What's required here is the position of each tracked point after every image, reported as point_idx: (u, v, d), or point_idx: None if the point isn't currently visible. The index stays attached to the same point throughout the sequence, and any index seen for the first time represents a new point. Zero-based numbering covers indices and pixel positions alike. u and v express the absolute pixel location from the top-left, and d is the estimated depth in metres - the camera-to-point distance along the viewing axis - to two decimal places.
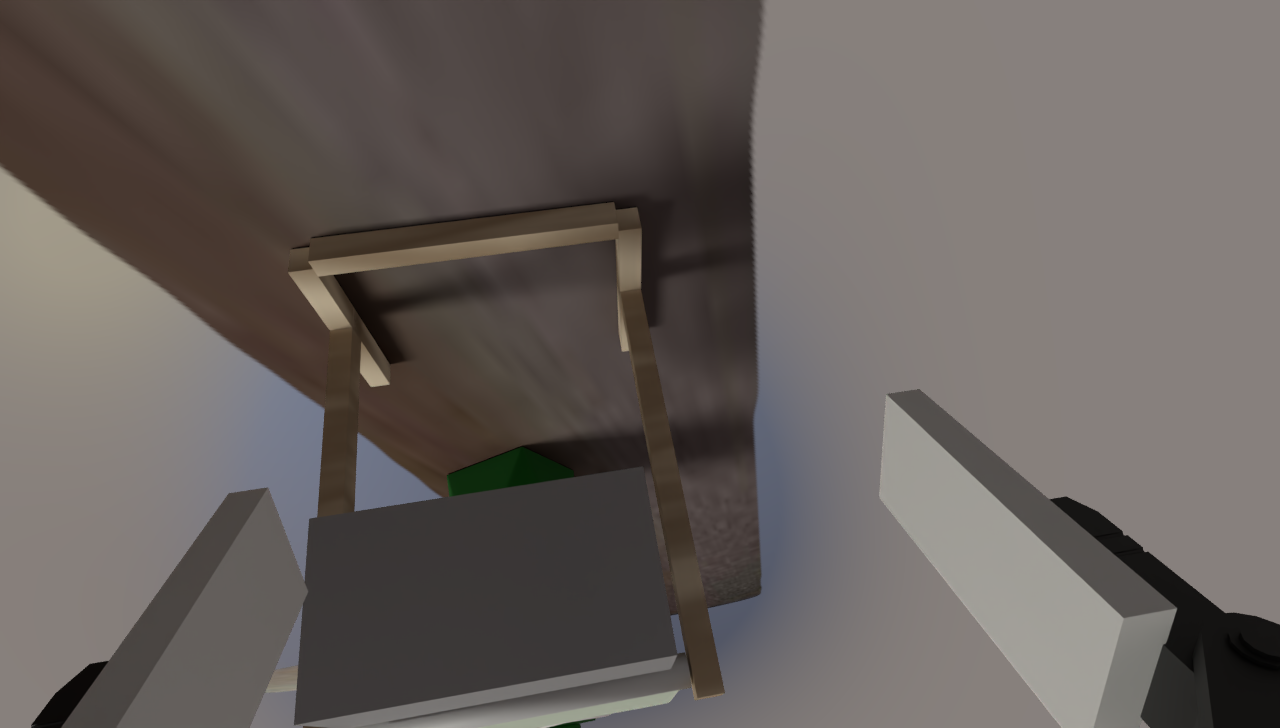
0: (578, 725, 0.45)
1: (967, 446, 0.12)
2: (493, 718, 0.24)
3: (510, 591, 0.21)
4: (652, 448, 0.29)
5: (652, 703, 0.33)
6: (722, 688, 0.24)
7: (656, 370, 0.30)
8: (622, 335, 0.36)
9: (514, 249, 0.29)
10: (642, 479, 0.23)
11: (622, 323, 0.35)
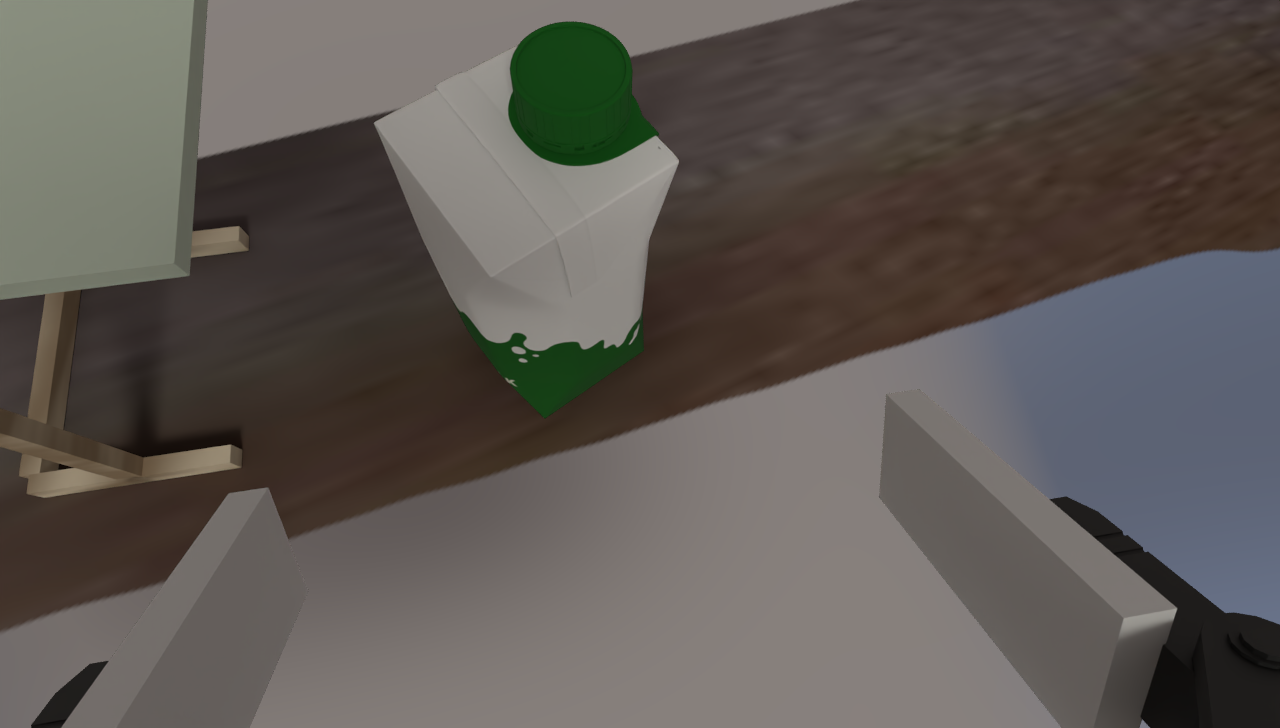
0: None
1: (967, 446, 0.12)
2: None
3: None
4: None
5: (127, 2, 0.24)
6: None
7: None
8: (210, 243, 0.40)
9: (56, 331, 0.38)
10: None
11: None
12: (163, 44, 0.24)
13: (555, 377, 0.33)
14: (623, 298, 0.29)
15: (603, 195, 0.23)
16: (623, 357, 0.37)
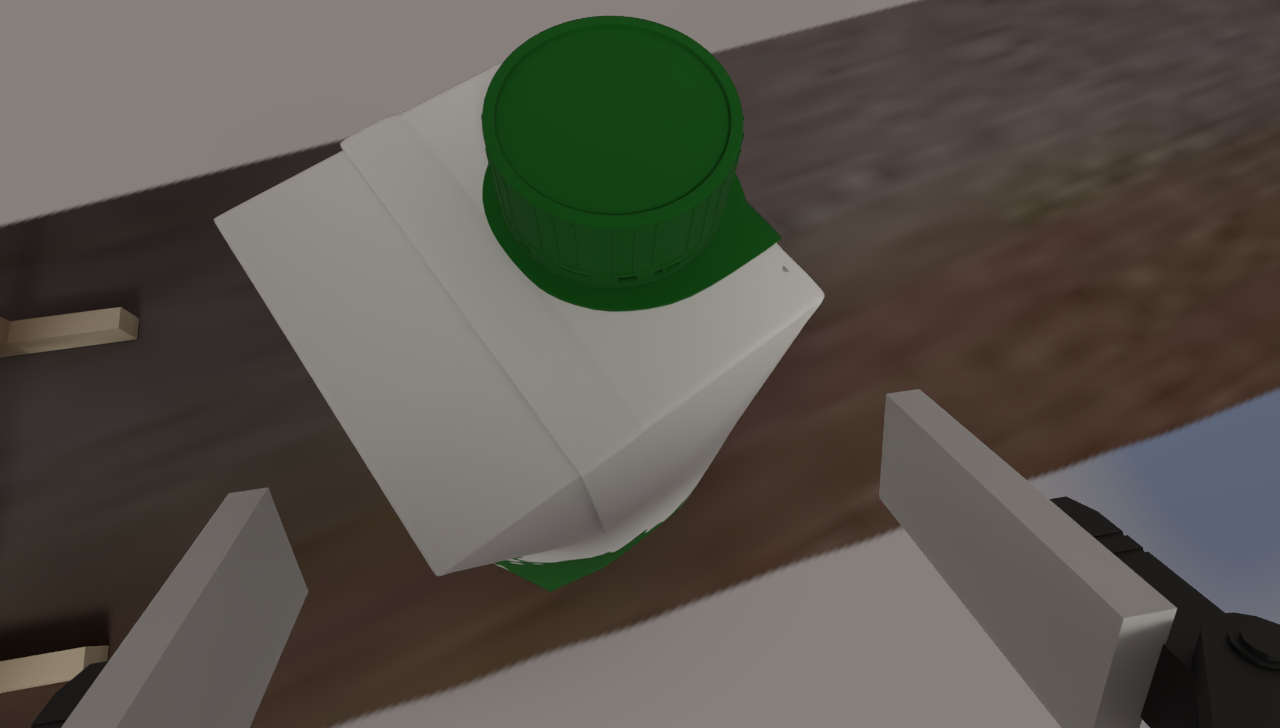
0: None
1: (967, 446, 0.12)
2: None
3: None
4: None
5: None
6: None
7: None
8: (77, 332, 0.28)
9: None
10: None
11: (47, 336, 0.28)
12: None
13: (567, 571, 0.21)
14: (686, 486, 0.17)
15: (677, 376, 0.11)
16: None
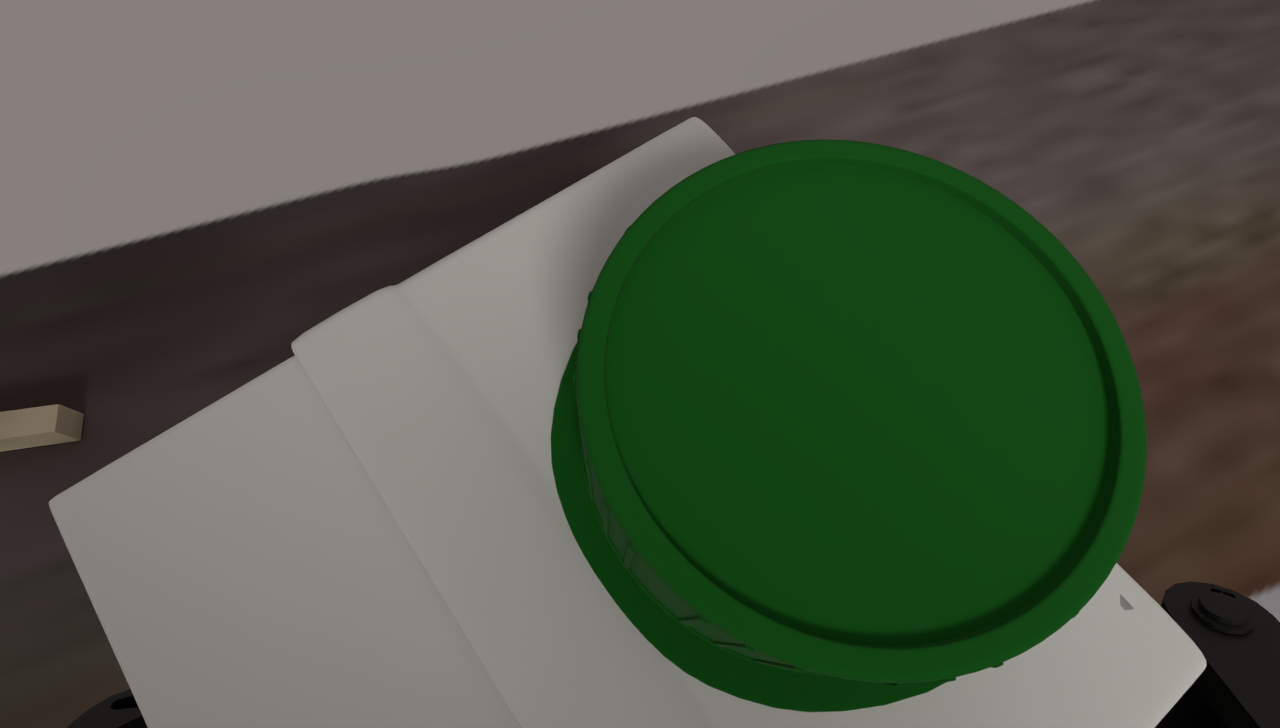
0: None
1: None
2: None
3: None
4: None
5: None
6: None
7: None
8: (4, 437, 0.23)
9: None
10: None
11: None
12: None
13: None
14: None
15: None
16: None
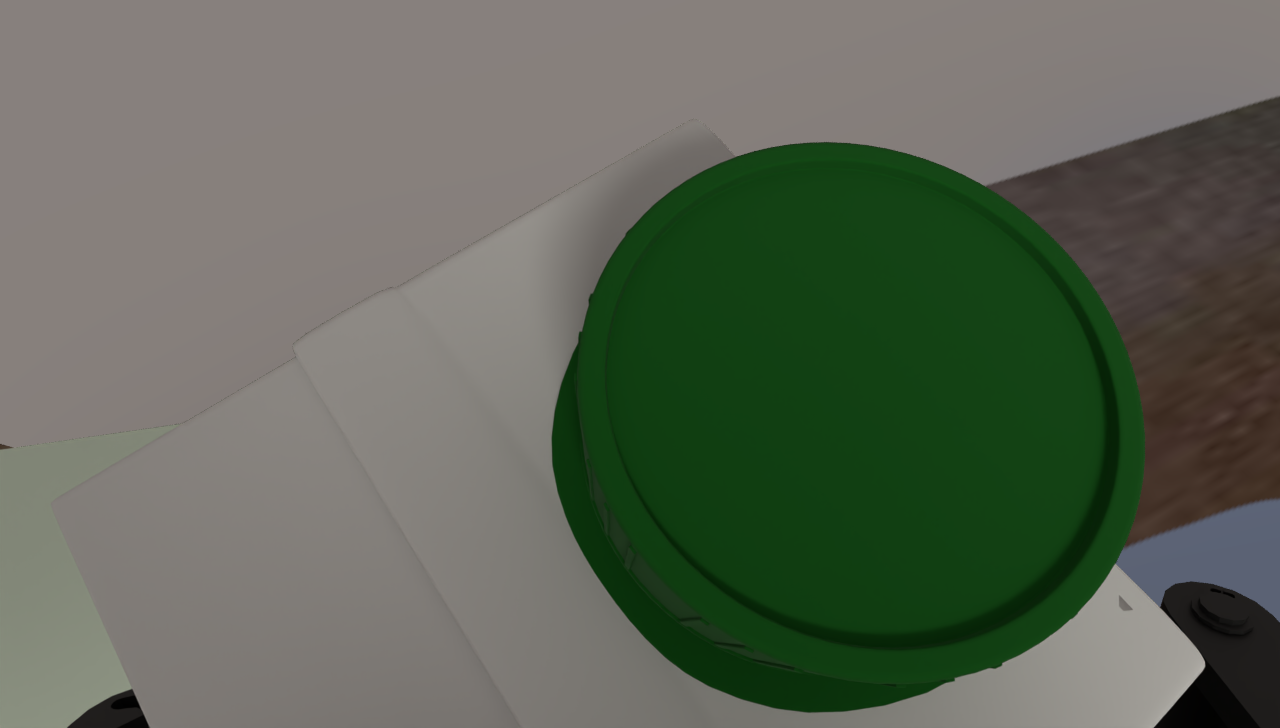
0: None
1: None
2: None
3: None
4: None
5: None
6: None
7: None
8: None
9: None
10: None
11: None
12: None
13: None
14: None
15: None
16: None
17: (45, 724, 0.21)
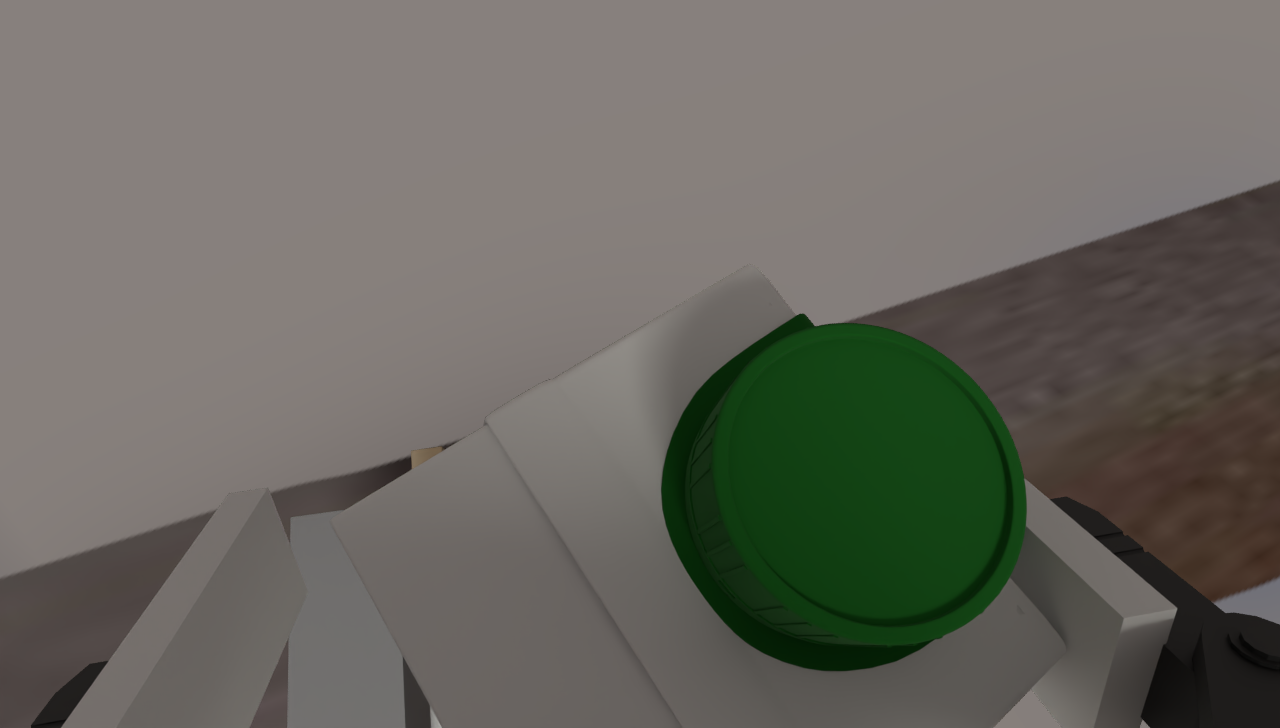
0: None
1: None
2: None
3: None
4: None
5: None
6: None
7: None
8: None
9: None
10: None
11: None
12: None
13: None
14: None
15: None
16: None
17: None
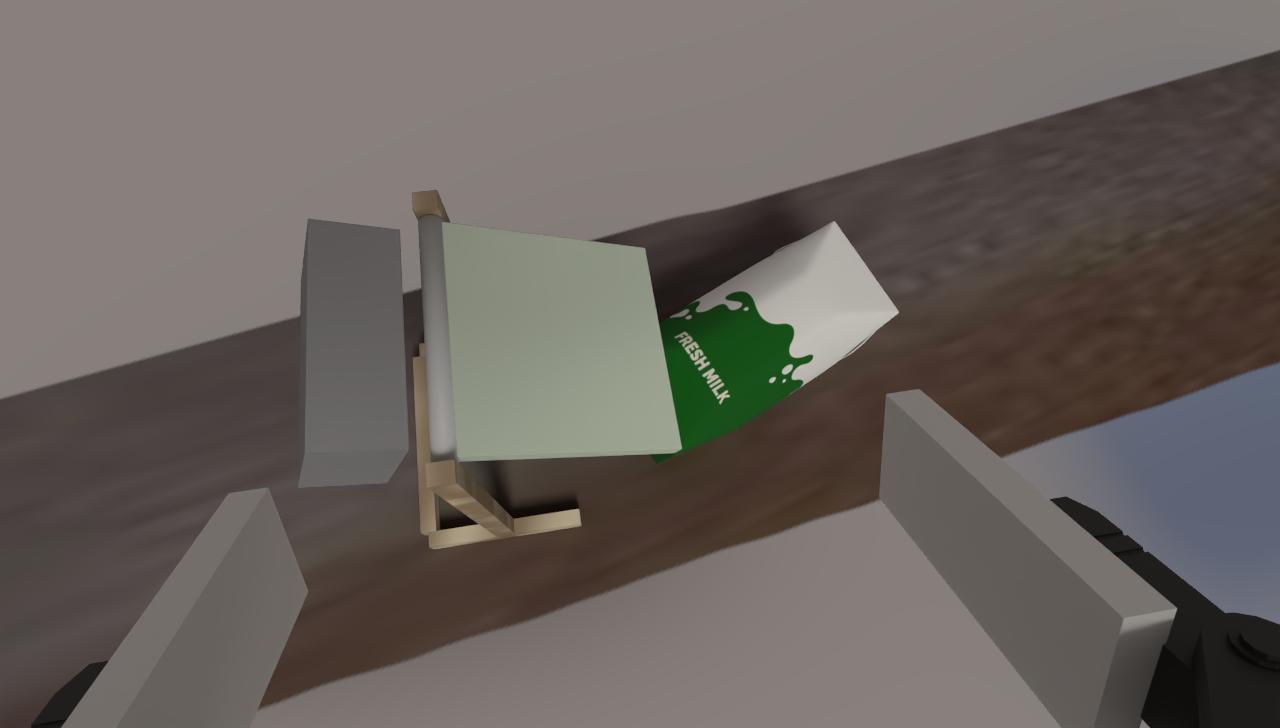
0: None
1: (967, 446, 0.12)
2: (431, 347, 0.31)
3: (303, 336, 0.31)
4: None
5: (611, 258, 0.38)
6: None
7: None
8: None
9: (427, 414, 0.48)
10: (301, 279, 0.35)
11: None
12: (639, 294, 0.38)
13: (750, 410, 0.43)
14: None
15: None
16: None
17: (564, 397, 0.33)
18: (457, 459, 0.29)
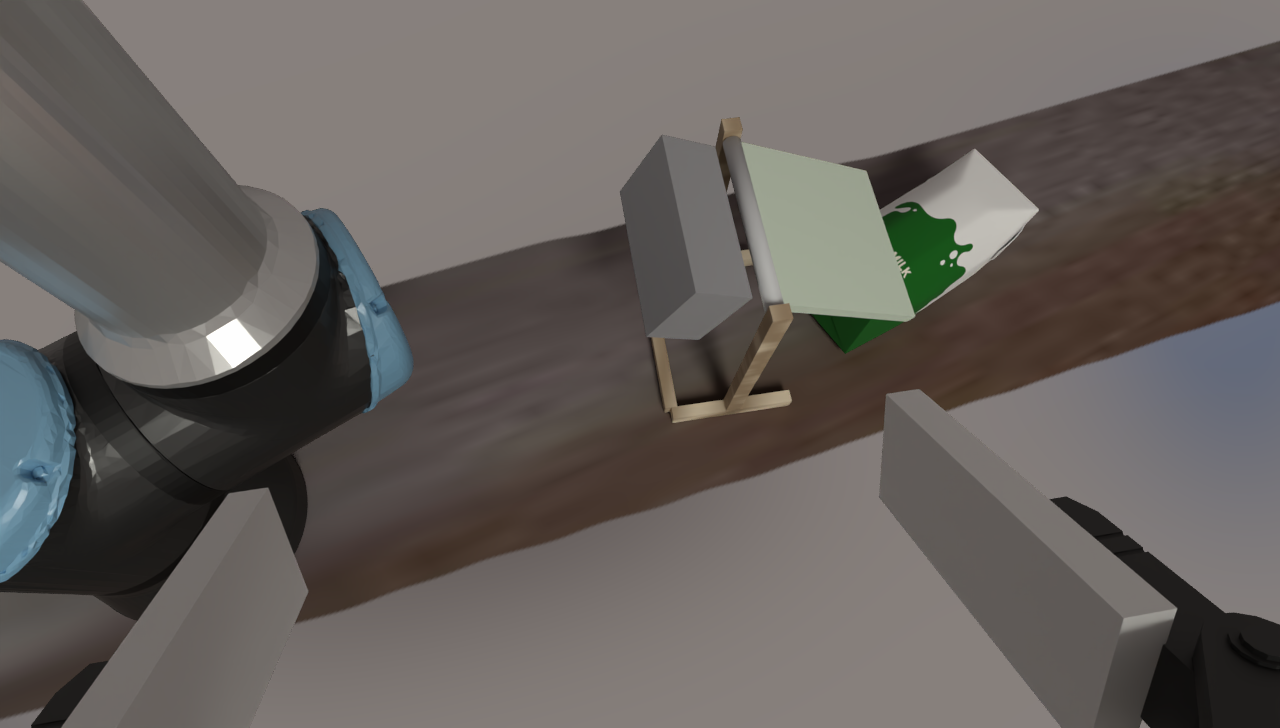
0: None
1: (967, 446, 0.12)
2: (754, 228, 0.42)
3: (654, 223, 0.42)
4: None
5: (847, 176, 0.49)
6: (721, 121, 0.44)
7: None
8: None
9: None
10: (622, 188, 0.46)
11: None
12: (869, 204, 0.49)
13: (926, 289, 0.54)
14: (959, 283, 0.58)
15: None
16: (882, 331, 0.57)
17: (838, 272, 0.44)
18: None
